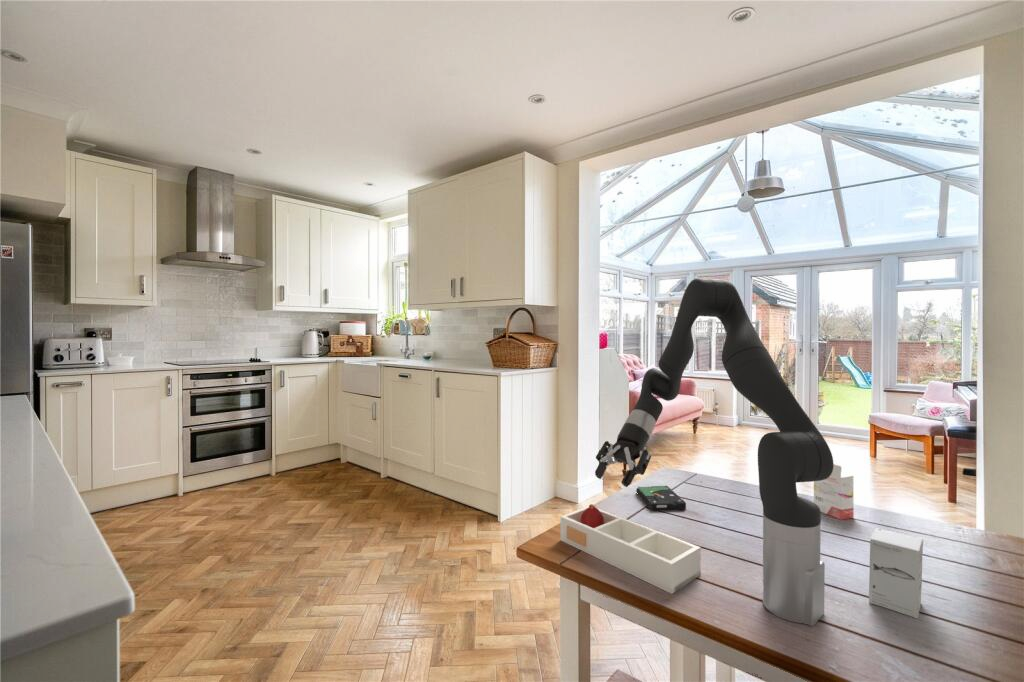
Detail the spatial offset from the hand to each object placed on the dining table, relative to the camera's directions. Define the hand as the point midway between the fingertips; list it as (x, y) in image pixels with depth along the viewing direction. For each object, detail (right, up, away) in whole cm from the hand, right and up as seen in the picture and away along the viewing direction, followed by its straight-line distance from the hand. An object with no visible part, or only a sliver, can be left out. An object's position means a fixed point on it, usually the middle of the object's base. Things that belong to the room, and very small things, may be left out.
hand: (610, 481), depth 120 cm
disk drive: (+20, -14, +22) cm, 33 cm away
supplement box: (+48, -14, -31) cm, 59 cm away
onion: (-5, -13, -4) cm, 14 cm away
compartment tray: (+1, -14, -12) cm, 18 cm away
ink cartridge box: (+65, -13, +12) cm, 68 cm away
